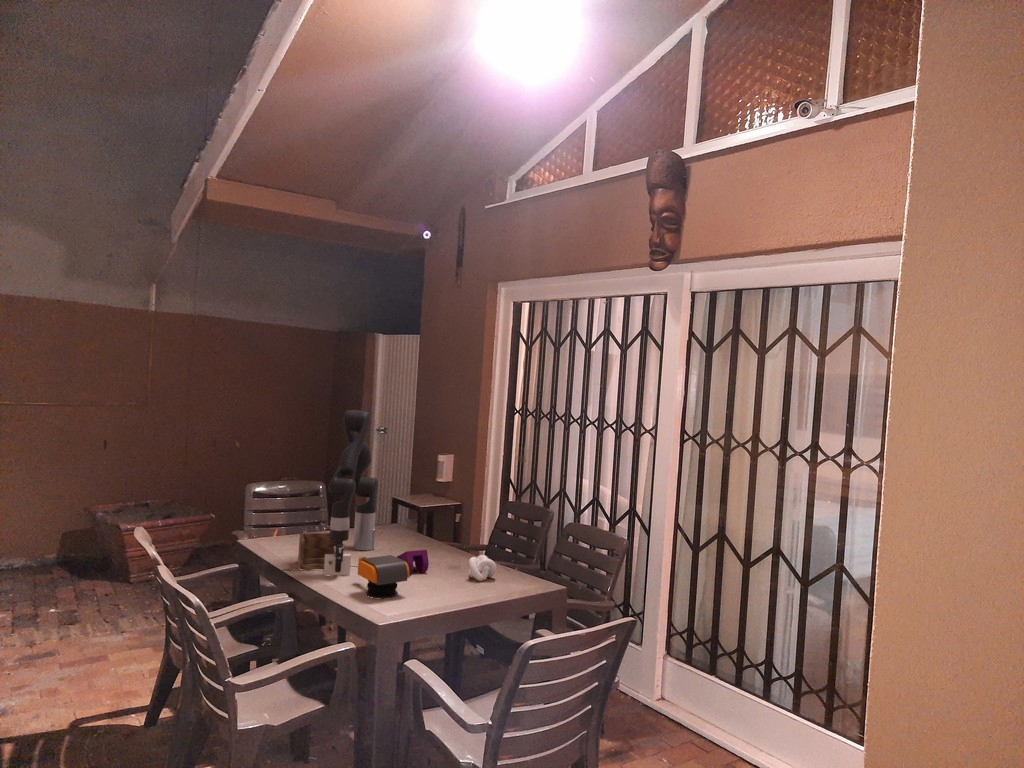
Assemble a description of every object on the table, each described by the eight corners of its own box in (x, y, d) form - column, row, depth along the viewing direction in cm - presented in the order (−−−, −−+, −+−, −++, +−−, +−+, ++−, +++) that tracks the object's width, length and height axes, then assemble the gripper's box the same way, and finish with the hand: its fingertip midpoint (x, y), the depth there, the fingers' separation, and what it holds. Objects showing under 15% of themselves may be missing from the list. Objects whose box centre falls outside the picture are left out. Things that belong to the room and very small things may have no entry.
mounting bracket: (391, 580, 295) (409, 572, 282) (388, 560, 298) (406, 551, 285) (411, 578, 300) (429, 569, 287) (408, 558, 303) (426, 549, 290)
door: (348, 573, 281) (350, 553, 281) (350, 576, 278) (351, 556, 278) (323, 574, 278) (324, 554, 278) (324, 576, 274) (325, 556, 274)
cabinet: (336, 560, 300) (338, 532, 300) (339, 569, 286) (341, 540, 286) (298, 561, 294) (299, 533, 294) (299, 570, 281) (301, 540, 281)
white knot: (483, 584, 277) (484, 562, 277) (459, 579, 283) (460, 557, 283) (498, 579, 286) (500, 557, 286) (474, 573, 293) (476, 552, 293)
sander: (376, 579, 275) (378, 547, 275) (409, 596, 256) (411, 562, 256) (342, 584, 266) (344, 551, 266) (373, 602, 246) (375, 567, 246)
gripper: (351, 531, 273) (348, 574, 273) (347, 524, 286) (344, 564, 286) (331, 531, 270) (328, 575, 270) (328, 524, 284) (326, 565, 284)
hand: (337, 569), depth 278 cm, fingers open, 5 cm apart
